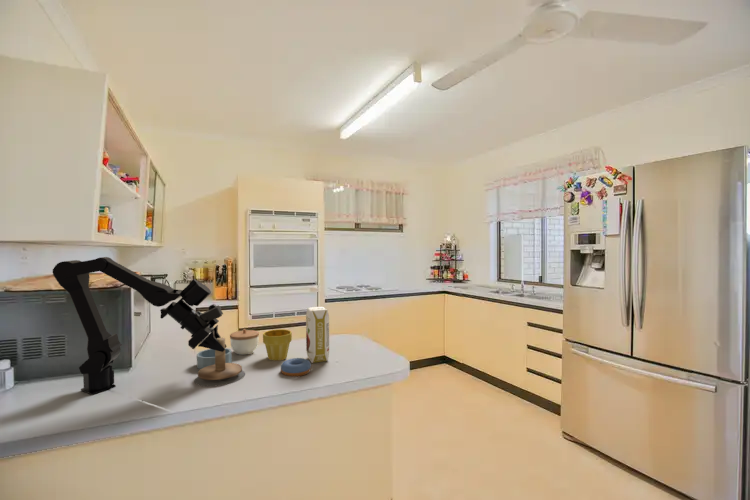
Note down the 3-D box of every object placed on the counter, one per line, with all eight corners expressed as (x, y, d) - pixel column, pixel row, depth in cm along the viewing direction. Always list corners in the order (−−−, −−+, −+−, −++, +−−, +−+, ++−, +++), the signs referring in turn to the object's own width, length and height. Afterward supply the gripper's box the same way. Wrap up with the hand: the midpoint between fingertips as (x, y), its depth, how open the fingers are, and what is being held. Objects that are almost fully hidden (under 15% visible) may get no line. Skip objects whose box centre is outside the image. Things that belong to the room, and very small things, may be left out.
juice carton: (325, 354, 141) (324, 305, 141) (330, 361, 133) (330, 309, 133) (305, 357, 139) (305, 307, 138) (309, 364, 131) (309, 311, 130)
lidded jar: (250, 358, 137) (249, 333, 137) (224, 356, 140) (223, 332, 139) (264, 349, 148) (263, 326, 148) (240, 348, 150) (239, 325, 150)
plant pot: (285, 363, 131) (285, 336, 131) (258, 362, 133) (257, 335, 133) (296, 354, 141) (295, 329, 141) (270, 353, 143) (270, 328, 143)
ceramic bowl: (211, 372, 122) (211, 359, 122) (190, 367, 127) (189, 354, 127) (237, 363, 132) (237, 350, 132) (217, 358, 137) (216, 346, 137)
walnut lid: (217, 383, 109) (216, 346, 109) (188, 375, 115) (188, 341, 115) (250, 369, 120) (250, 336, 120) (223, 362, 126) (222, 331, 126)
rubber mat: (216, 391, 108) (216, 389, 108) (183, 382, 115) (183, 380, 115) (255, 374, 121) (255, 373, 121) (223, 367, 128) (223, 366, 128)
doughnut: (295, 379, 116) (296, 365, 116) (274, 375, 121) (274, 361, 122) (317, 373, 124) (317, 359, 124) (295, 369, 130) (296, 355, 130)
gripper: (199, 302, 107) (240, 338, 110) (211, 293, 125) (246, 324, 128) (170, 331, 105) (212, 366, 108) (186, 317, 123) (222, 348, 126)
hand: (224, 349), depth 118 cm, fingers closed on walnut lid, 3 cm apart
